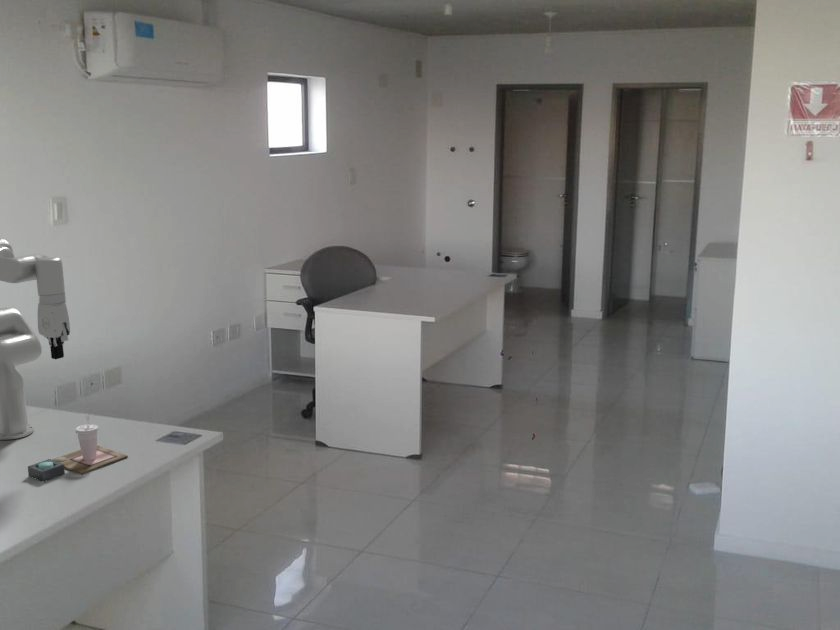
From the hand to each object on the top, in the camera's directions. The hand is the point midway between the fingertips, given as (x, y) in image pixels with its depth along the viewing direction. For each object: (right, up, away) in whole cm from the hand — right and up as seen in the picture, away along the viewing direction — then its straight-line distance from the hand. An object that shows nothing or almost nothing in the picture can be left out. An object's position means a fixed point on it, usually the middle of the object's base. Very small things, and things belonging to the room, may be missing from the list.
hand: (57, 357), depth 282 cm
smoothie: (+11, -30, -3) cm, 32 cm away
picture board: (+10, -30, -3) cm, 32 cm away
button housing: (+2, -33, -14) cm, 36 cm away
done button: (+2, -34, -14) cm, 37 cm away
